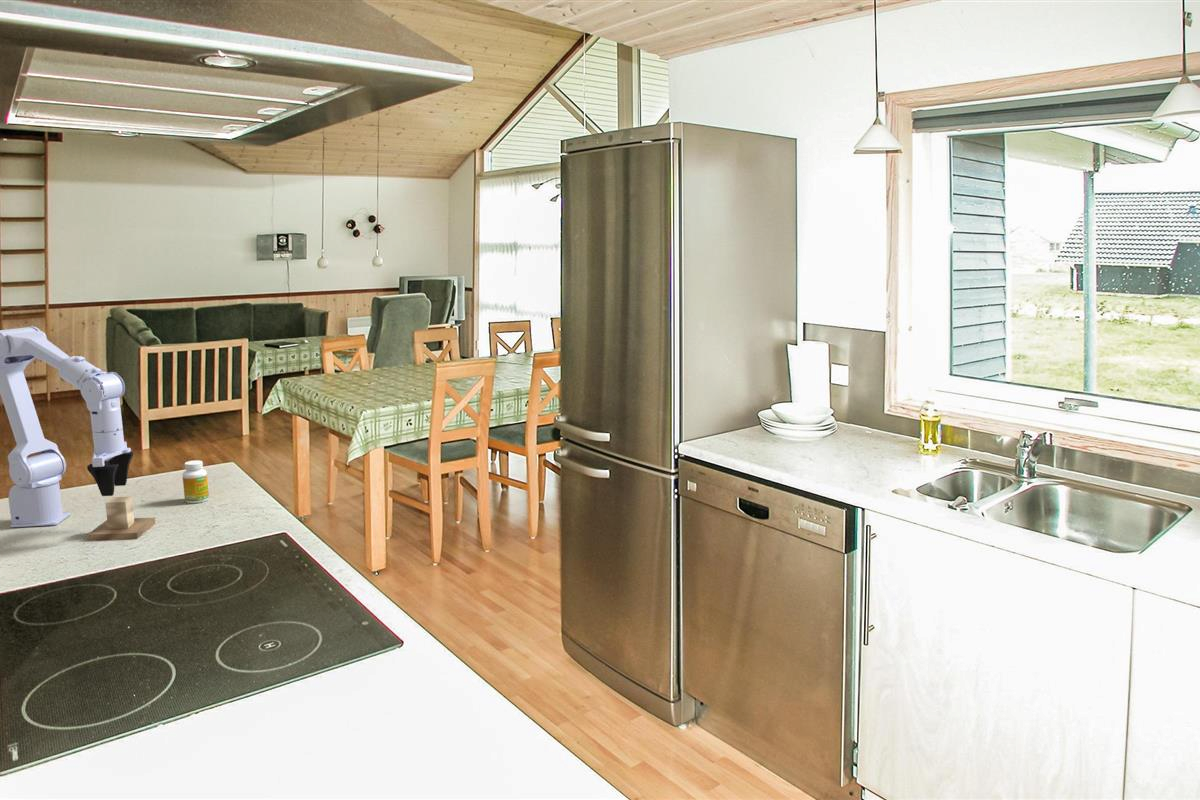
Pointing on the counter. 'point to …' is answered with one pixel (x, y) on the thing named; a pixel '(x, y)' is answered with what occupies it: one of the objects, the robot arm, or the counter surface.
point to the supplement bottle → (195, 482)
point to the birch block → (119, 512)
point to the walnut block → (122, 530)
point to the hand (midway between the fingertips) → (114, 490)
